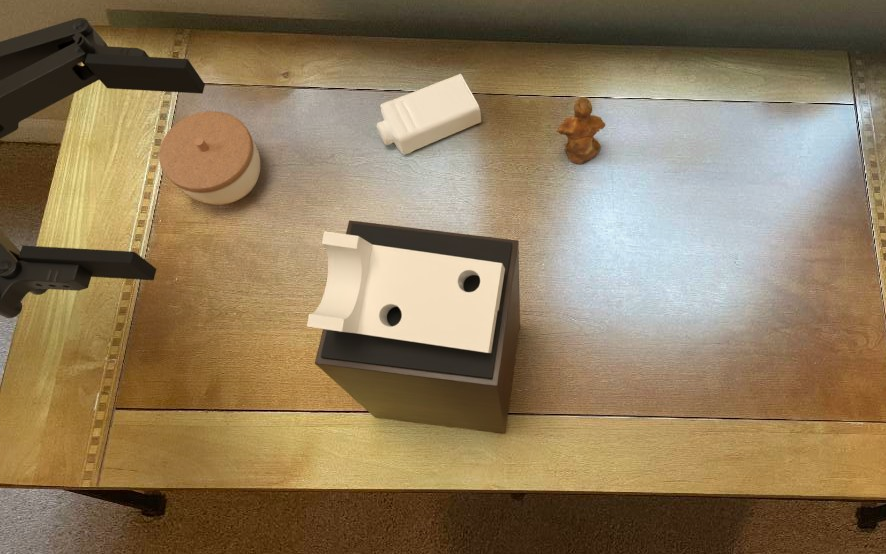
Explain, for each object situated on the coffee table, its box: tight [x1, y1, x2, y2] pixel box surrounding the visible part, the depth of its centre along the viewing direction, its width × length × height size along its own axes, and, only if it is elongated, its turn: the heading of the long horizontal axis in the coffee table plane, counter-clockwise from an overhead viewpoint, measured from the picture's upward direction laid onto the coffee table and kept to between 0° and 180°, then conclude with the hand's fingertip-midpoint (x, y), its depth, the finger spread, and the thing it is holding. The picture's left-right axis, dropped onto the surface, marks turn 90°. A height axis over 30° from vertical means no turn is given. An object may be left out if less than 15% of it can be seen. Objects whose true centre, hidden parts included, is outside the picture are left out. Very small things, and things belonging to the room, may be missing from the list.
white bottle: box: [376, 73, 482, 155], centre depth 93 cm, size 6×13×4 cm, turn 117°
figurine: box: [556, 96, 606, 165], centre depth 89 cm, size 5×6×12 cm
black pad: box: [321, 224, 512, 379], centre depth 60 cm, size 12×14×1 cm
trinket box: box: [158, 110, 262, 206], centre depth 87 cm, size 11×11×9 cm
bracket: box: [306, 230, 505, 353], centre depth 56 cm, size 13×7×8 cm, turn 82°
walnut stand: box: [314, 219, 521, 435], centre depth 72 cm, size 13×15×25 cm
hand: (172, 166), depth 45 cm, fingers open, 13 cm apart
